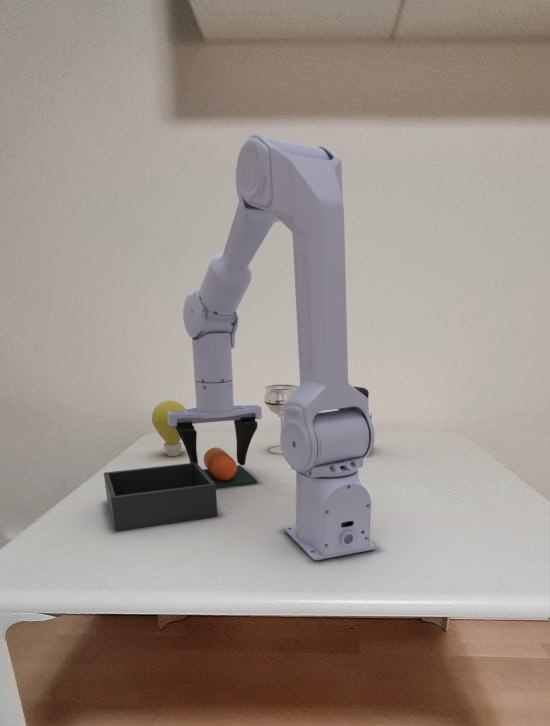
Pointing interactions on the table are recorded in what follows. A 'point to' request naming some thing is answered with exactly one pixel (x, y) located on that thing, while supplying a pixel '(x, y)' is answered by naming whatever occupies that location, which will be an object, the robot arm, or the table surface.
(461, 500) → the table surface
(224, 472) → the orange lobed capsule
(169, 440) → the light bulb
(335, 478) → the robot arm
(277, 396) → the wineglass
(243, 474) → the pad
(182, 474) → the basin
